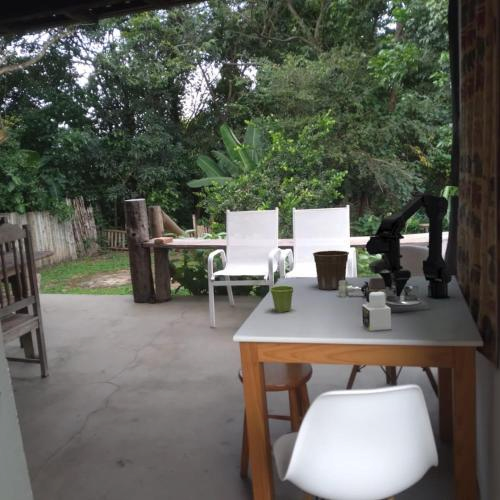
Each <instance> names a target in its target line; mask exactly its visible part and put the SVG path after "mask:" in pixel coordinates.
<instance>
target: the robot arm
mask: <svg viewBox="0 0 500 500" xmlns="http://www.w3.org/2000/svg"><path fill="white" fill-rule="evenodd" d="M448 207H449V200H448V199H447V198H446V197H445V196H436V195H435V196H434V195H431V194H429V193H416V194H415V195H414V196H413V197H412V198H411V199H410V200H409V201H408V202H407V203H406V204H404V206H402V207H401V208H400V209H399V210H397V212H395V213H392V214H388V215H387V216H386V217H384V218H383V219H381V221H380V224H379V227H378V229H377V230H376V232H375V234H374V235H370V236H369V239H368V241H367V242H366V245H365V250H366V252H367V254H368V255H370V256H376V255H381V254H382V255H381V258H380V259H378V260H375V261H373V262H370V263H369V264H368V268H369V269H370V272H371V273H373V274H375V275H377V274H378V275H379V276H380V277H381V278H383V281H384V284H385V287H387V286H391V285H392V281H394V283H395V290H396V295H397V296H402V295H401V294H402V293H403V292H402V290H403V288H404V286H405V284H407V282H408V281H409V280H410V279H411V278H412V272H411V271H410V270H409V269H407V268H404V267H403V265H402V264H401V259H402V258H403V254H401V240H405V236H404V235H402V234H401V233H402V232H403V230H404V229H405V227H406V225H407V222H408V221H409V220H410V219H411V218H412V217H413V216H414V215H415V214H417V212H420V210H421V209H422V208H424V211H425V212H424V213H425V214H426V215H425V216H426V217H427V218H428V253H427V255H428V256H427V257H426V259H423V260H422V269H421V271H422V273H423V276H424V279H425V281H426V282H428V285H427V296H428V297H430V298H433V299H445V298H451V296H450V295H449V290H448V288H449V286H448V285H449V283H452V279H453V276H452V274H451V273H450V272H449V271H448V270H447V263H446V261H445V259H444V257H443V230H444V229H443V225H444V223H443V222H444V218H445V217H446V215H447V214H448V209H449V208H448Z"/></svg>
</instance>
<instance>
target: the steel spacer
mask: <svg viewBox="0 0 500 500" xmlns="http://www.w3.org/2000/svg"><path fill="white" fill-rule="evenodd" d="M400 296H401V295H400ZM400 296H397V295H396V290H395V286H387V287H386V292H385V297H386V301H388V302H399V301H400Z"/></svg>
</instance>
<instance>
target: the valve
mask: <svg viewBox="0 0 500 500" xmlns="http://www.w3.org/2000/svg"><path fill="white" fill-rule="evenodd" d="M368 289H369V282H368V281H364V284H363V286H361V287H359V286H355V287H354V286H353V285H349V281H348V280H346V279H345V280H341V281H339V289H338V292H339V293H338V295H339V297H341V298H347V296H348V297H349V293H353V292H359V291H360V292H361V293H362V294H363V295H364V297H365V298H366V293H367V292H368Z"/></svg>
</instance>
